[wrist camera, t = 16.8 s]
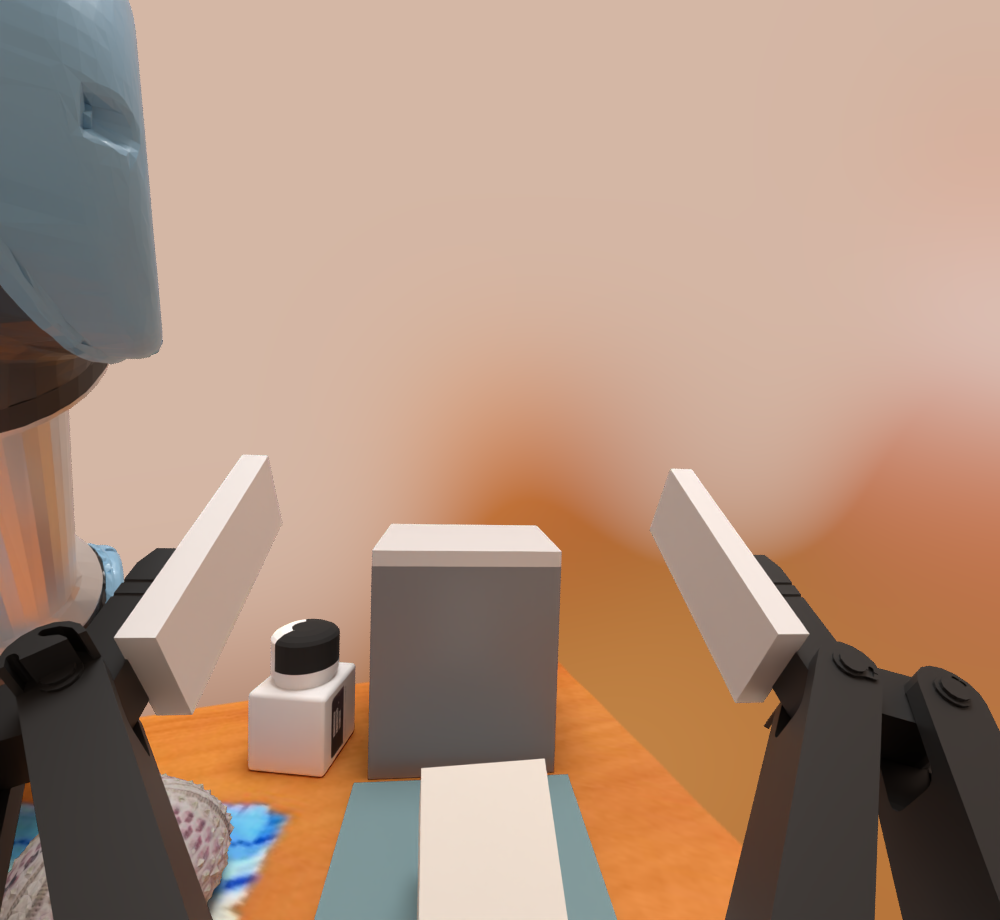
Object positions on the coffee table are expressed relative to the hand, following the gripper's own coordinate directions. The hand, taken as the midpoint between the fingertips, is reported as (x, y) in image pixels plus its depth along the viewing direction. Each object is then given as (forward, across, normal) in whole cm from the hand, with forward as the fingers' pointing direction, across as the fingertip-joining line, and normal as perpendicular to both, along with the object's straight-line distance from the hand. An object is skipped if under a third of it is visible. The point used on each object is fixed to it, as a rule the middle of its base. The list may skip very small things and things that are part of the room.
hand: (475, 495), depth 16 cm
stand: (+16, +1, -45) cm, 48 cm away
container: (+14, -15, -44) cm, 49 cm away
